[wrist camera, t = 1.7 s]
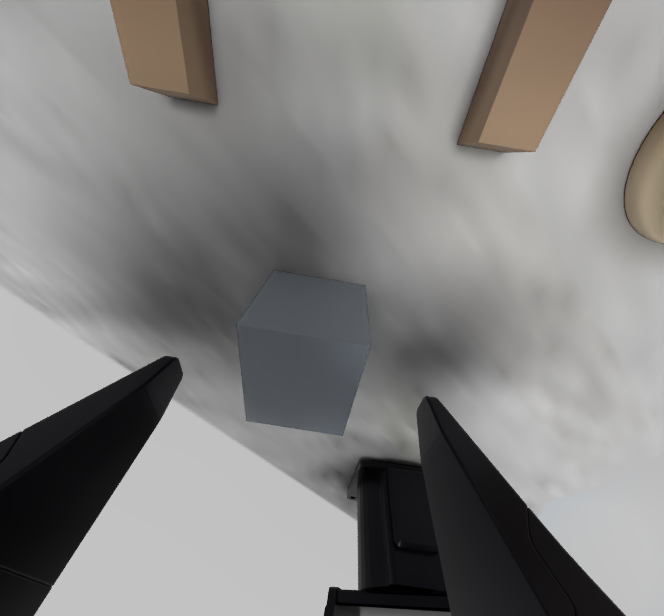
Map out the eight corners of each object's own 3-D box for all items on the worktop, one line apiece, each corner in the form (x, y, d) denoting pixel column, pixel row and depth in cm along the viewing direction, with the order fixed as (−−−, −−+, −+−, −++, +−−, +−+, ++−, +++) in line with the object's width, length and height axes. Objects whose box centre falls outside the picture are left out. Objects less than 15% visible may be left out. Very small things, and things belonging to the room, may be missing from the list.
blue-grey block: (345, 363, 13) (342, 436, 10) (274, 352, 13) (246, 420, 10) (365, 284, 10) (370, 346, 7) (274, 269, 10) (236, 324, 7)
